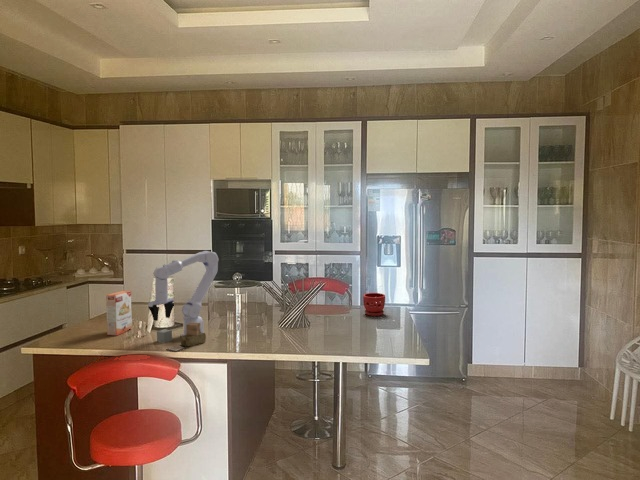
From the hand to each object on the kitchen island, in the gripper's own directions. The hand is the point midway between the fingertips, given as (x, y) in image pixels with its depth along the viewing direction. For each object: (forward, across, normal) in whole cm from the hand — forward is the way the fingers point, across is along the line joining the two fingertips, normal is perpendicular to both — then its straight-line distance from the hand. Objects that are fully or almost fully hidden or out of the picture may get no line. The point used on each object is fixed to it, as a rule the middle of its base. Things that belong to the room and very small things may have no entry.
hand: (161, 319), depth 245 cm
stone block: (+11, -3, +18) cm, 21 cm away
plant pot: (+8, -103, +67) cm, 123 cm away
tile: (+10, +8, +18) cm, 22 cm away
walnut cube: (+6, -3, +19) cm, 20 cm away
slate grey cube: (+10, 0, +2) cm, 11 cm away
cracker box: (+11, 0, -31) cm, 33 cm away
